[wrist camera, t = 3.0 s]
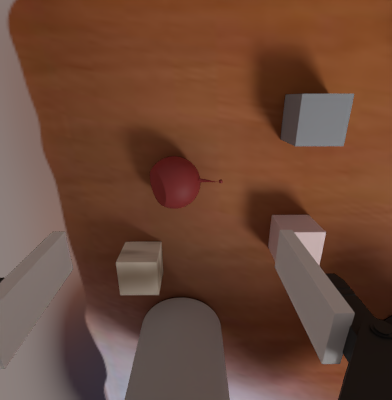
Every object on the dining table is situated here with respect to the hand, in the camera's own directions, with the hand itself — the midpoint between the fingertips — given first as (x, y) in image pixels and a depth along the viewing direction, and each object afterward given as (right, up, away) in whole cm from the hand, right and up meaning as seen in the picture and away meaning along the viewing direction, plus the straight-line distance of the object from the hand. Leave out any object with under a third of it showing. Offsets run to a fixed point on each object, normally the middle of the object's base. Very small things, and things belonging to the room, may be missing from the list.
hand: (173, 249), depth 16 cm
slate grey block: (+14, +13, +14) cm, 24 cm away
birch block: (-6, -5, +21) cm, 22 cm away
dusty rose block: (+14, -1, +20) cm, 24 cm away
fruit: (0, +6, +17) cm, 18 cm away
